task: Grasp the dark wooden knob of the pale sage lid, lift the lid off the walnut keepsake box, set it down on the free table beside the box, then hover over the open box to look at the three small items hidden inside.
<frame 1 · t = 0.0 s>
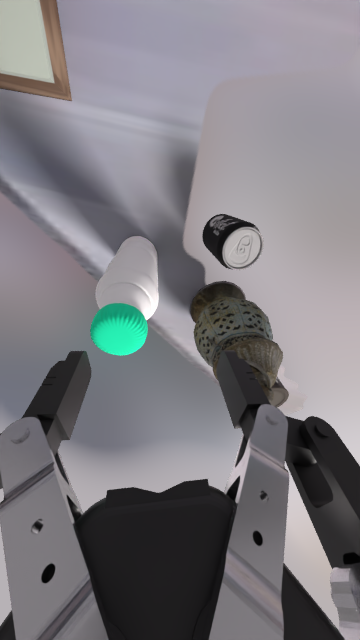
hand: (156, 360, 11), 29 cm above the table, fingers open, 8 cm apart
lantern: (216, 306, 45), on the table
water bottle: (138, 254, 36), on the table
beverage can: (218, 233, 35), on the table
coffee can: (244, 358, 57), on the table
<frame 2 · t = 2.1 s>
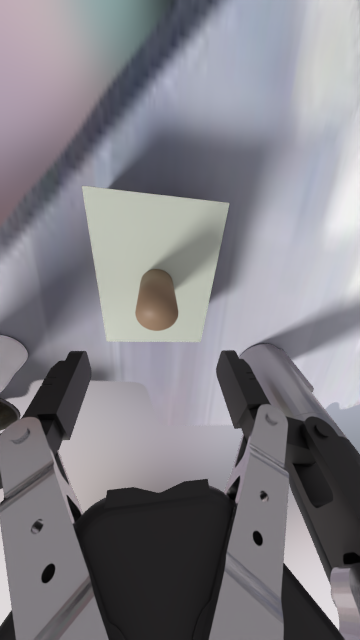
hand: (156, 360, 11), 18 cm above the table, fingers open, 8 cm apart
lid: (156, 281, 21), point 6 cm above the table, touching box
water bottle: (6, 348, 32), on the table
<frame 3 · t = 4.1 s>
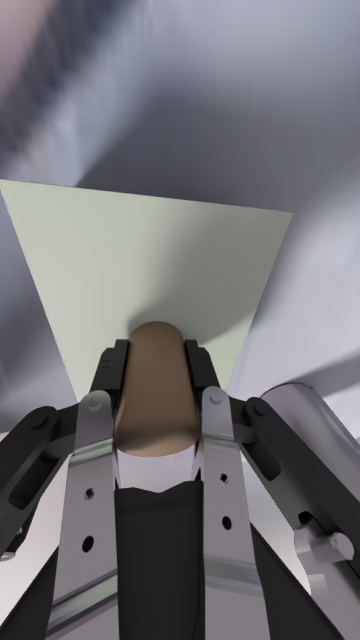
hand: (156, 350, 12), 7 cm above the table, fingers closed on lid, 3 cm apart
lid: (156, 335, 13), point 6 cm above the table, touching box, gripper
beverage can: (37, 448, 33), on the table
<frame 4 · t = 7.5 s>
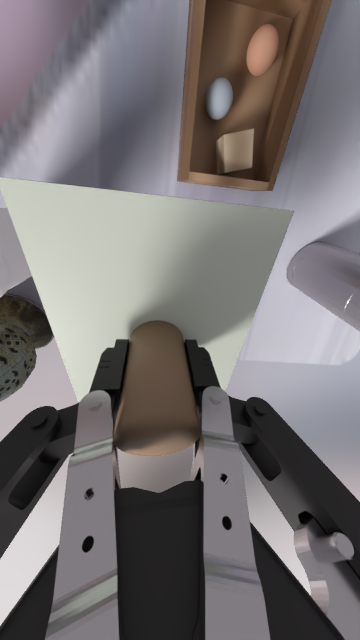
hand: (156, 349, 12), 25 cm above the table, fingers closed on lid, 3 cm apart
box: (228, 109, 24), on the table
ball terracotta: (255, 60, 21), point 1 cm above the table, touching box
lantern: (19, 321, 38), on the table
maple cube: (229, 156, 26), point 1 cm above the table, touching box
ball slate: (215, 104, 23), point 1 cm above the table, touching box
lid: (156, 334, 13), point 24 cm above the table, touching gripper
water bottle: (52, 228, 29), on the table
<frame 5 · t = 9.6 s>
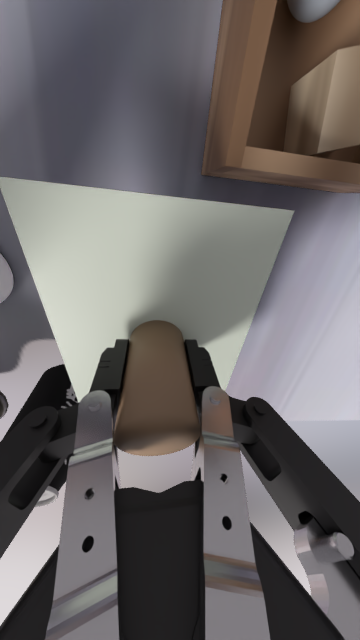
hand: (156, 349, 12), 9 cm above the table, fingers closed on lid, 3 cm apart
box: (329, 6, 10), on the table
maple cube: (312, 121, 12), point 1 cm above the table, touching box
lid: (156, 334, 13), point 7 cm above the table, touching gripper
beverage can: (73, 376, 25), on the table
when the fingers open (4 cm above the table, at t = 11.3 s): lid drops 2 cm, point 1 cm above the table.
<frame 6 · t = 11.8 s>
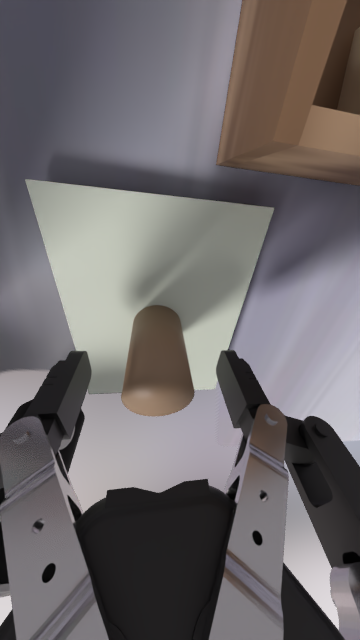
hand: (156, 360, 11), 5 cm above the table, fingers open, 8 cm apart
lid: (157, 319, 15), point 1 cm above the table
beverage can: (56, 407, 21), on the table
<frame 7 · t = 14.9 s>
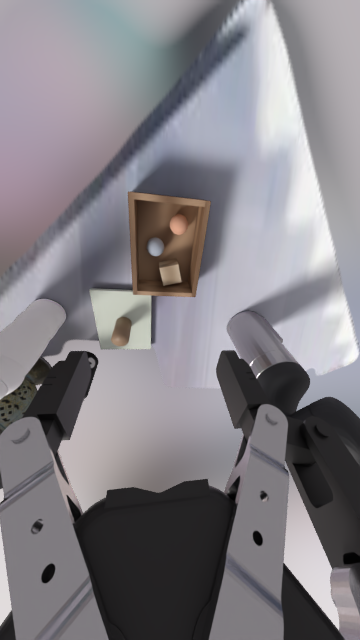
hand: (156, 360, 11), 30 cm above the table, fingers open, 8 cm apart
box: (165, 244, 36), on the table
ball terracotta: (178, 223, 34), point 1 cm above the table, touching box
lantern: (25, 366, 50), on the table
maple cube: (169, 268, 38), point 1 cm above the table, touching box
ball slate: (155, 244, 35), point 1 cm above the table, touching box
lid: (124, 321, 44), point 1 cm above the table
water bottle: (50, 311, 42), on the table
beverage can: (86, 357, 51), on the table
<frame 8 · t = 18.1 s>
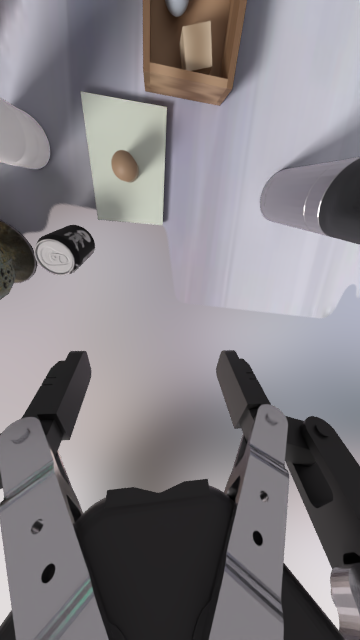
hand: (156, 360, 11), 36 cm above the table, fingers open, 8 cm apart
box: (190, 10, 25), on the table
lantern: (1, 250, 39), on the table
maple cube: (193, 62, 27), point 1 cm above the table, touching box
ball slate: (175, 2, 24), point 1 cm above the table, touching box
lid: (128, 170, 33), point 1 cm above the table
water bottle: (28, 142, 31), on the table
beverage can: (79, 241, 40), on the table
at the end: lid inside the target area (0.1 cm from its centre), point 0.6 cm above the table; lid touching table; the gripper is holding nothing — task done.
